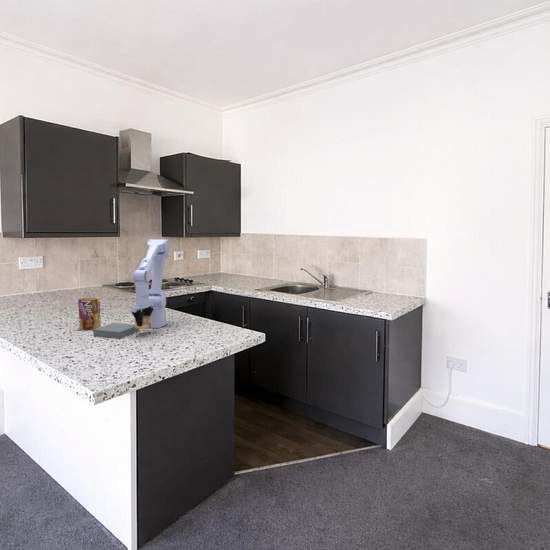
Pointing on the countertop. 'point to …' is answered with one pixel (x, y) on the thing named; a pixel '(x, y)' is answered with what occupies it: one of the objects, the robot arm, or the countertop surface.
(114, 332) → the base block
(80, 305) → the candy box
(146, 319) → the tan cube
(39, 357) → the countertop surface
